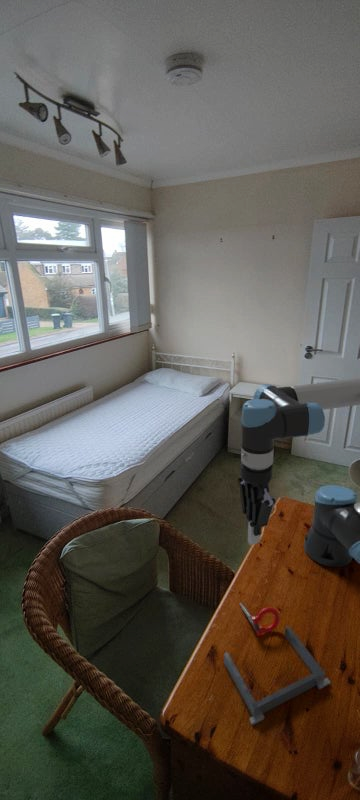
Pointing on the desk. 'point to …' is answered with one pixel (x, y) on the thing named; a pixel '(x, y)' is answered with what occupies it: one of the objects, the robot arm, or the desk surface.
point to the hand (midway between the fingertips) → (253, 541)
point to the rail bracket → (285, 693)
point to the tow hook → (258, 618)
